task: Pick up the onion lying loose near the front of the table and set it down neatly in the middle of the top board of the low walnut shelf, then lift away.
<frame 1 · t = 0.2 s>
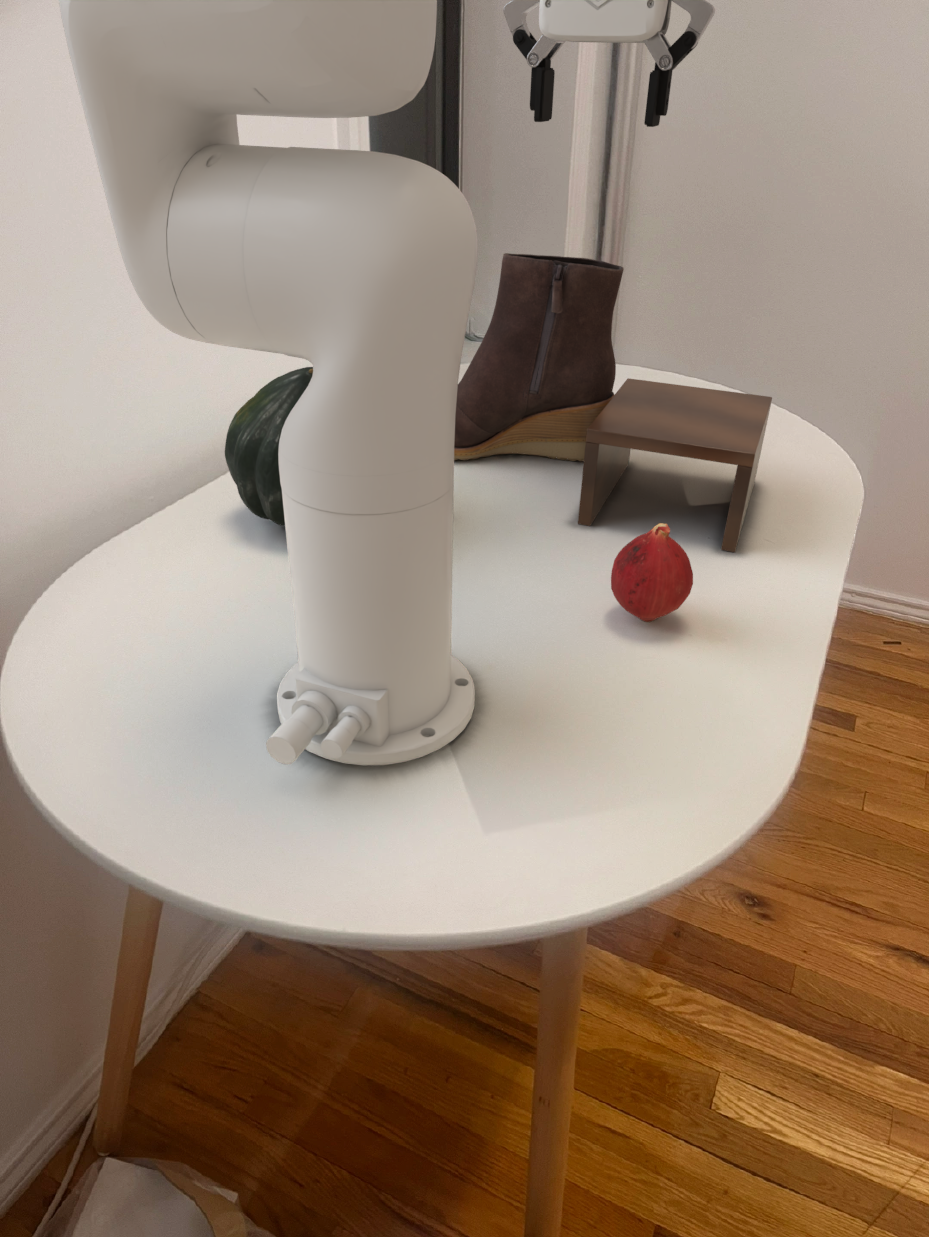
hand: (596, 123, 76), 31 cm above the table, tool pointing down, fingers open, 9 cm apart
boot: (494, 452, 95), on the table
walnut shelf: (670, 503, 84), on the table
squash: (320, 518, 80), on the table
onion: (644, 622, 66), on the table
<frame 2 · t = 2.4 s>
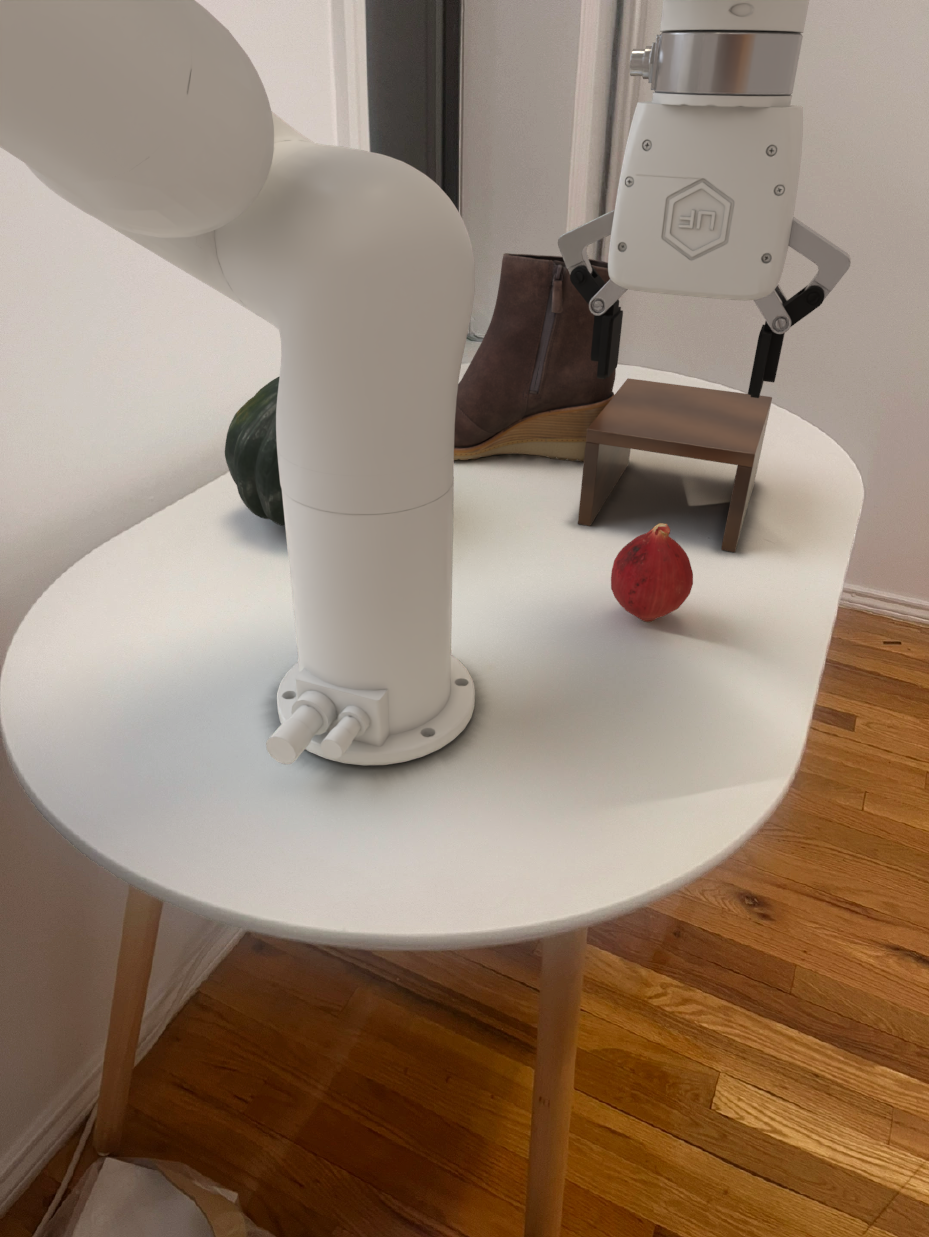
hand: (679, 382, 58), 18 cm above the table, tool pointing down, fingers open, 9 cm apart
nothing on the table moved.
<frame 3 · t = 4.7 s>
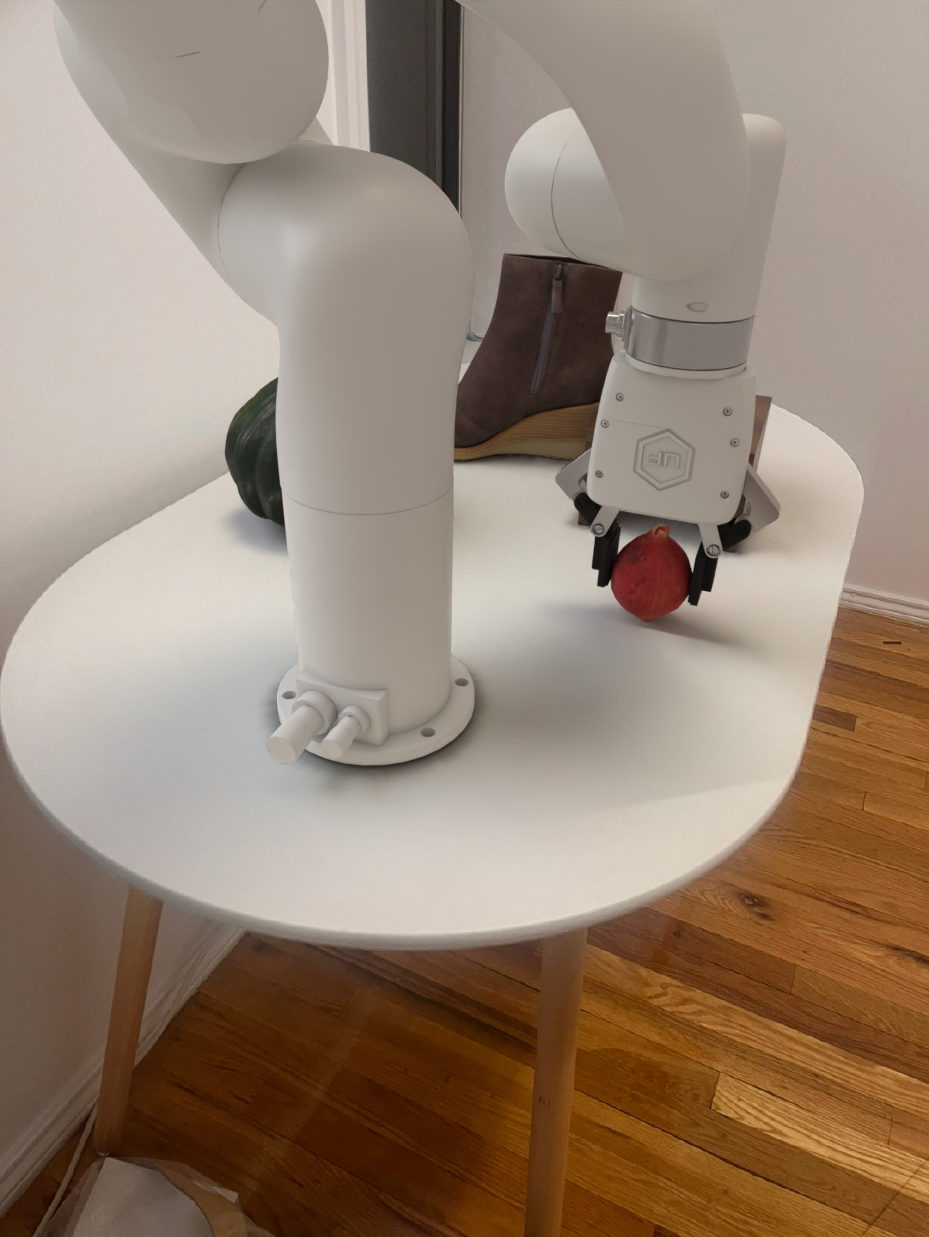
hand: (650, 585, 65), 3 cm above the table, tool pointing down, fingers closed on onion, 6 cm apart
onion: (644, 622, 66), on the table, touching gripper
everything else where it was.
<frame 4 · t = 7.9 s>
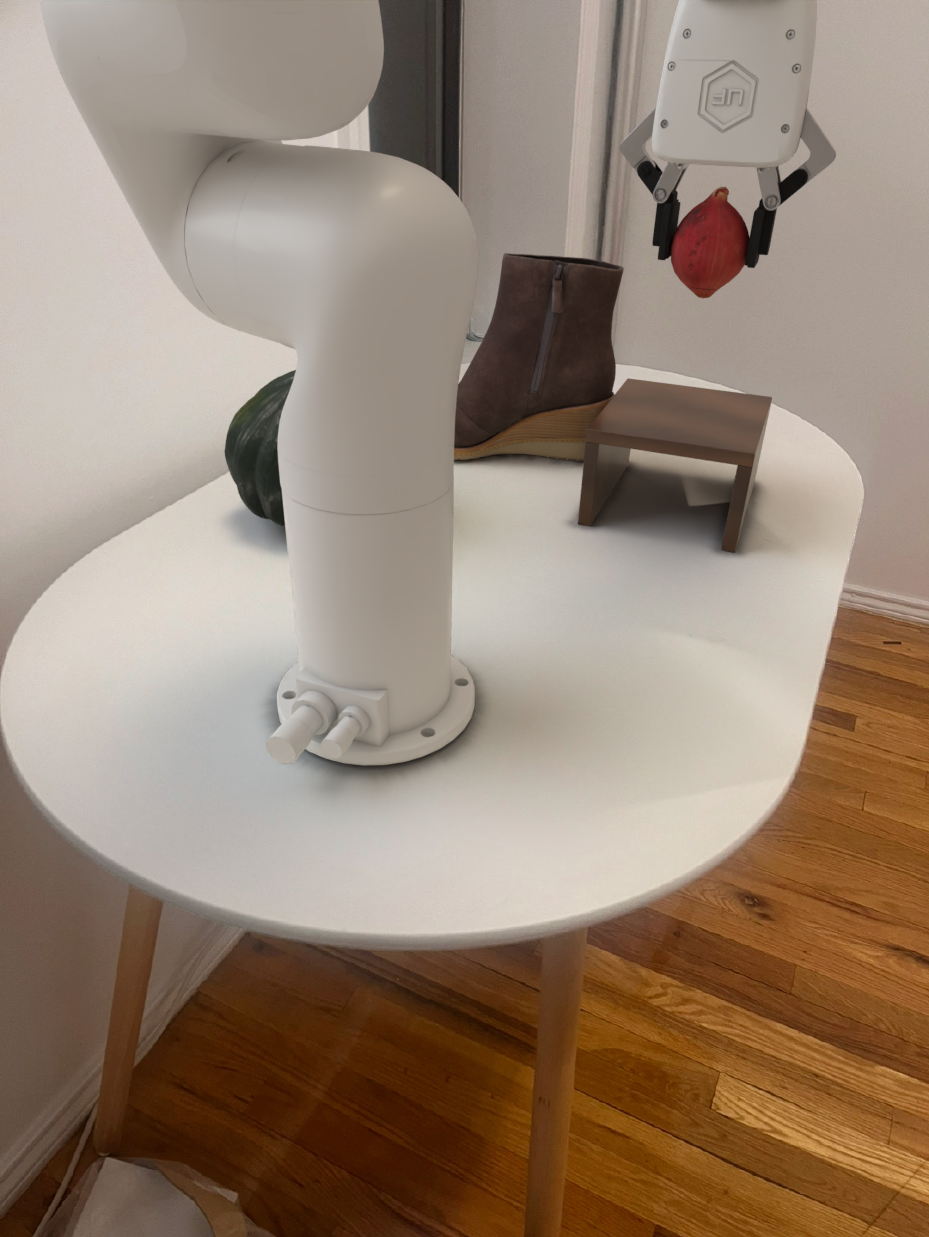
hand: (708, 258, 68), 23 cm above the table, tool pointing down, fingers closed on onion, 6 cm apart
onion: (701, 301, 70), point 20 cm above the table, touching gripper
everything else where it was.
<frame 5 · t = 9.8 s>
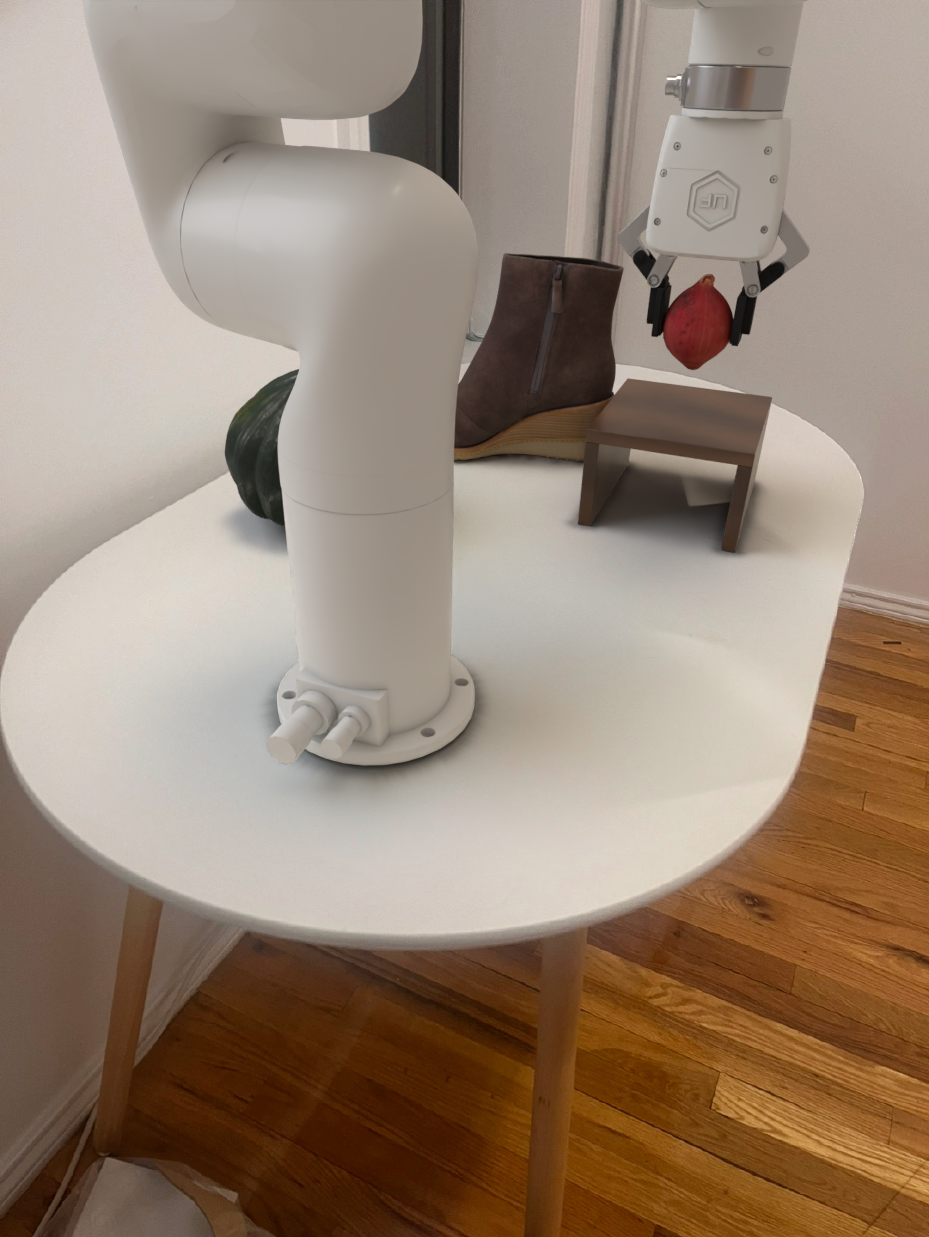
hand: (696, 335, 76), 16 cm above the table, tool pointing down, fingers closed on onion, 6 cm apart
onion: (690, 372, 78), point 13 cm above the table, touching gripper
everything else where it was.
when the fingers open (12 cm above the table, at t = 11.3 s): onion stays where it is, resting on walnut shelf.
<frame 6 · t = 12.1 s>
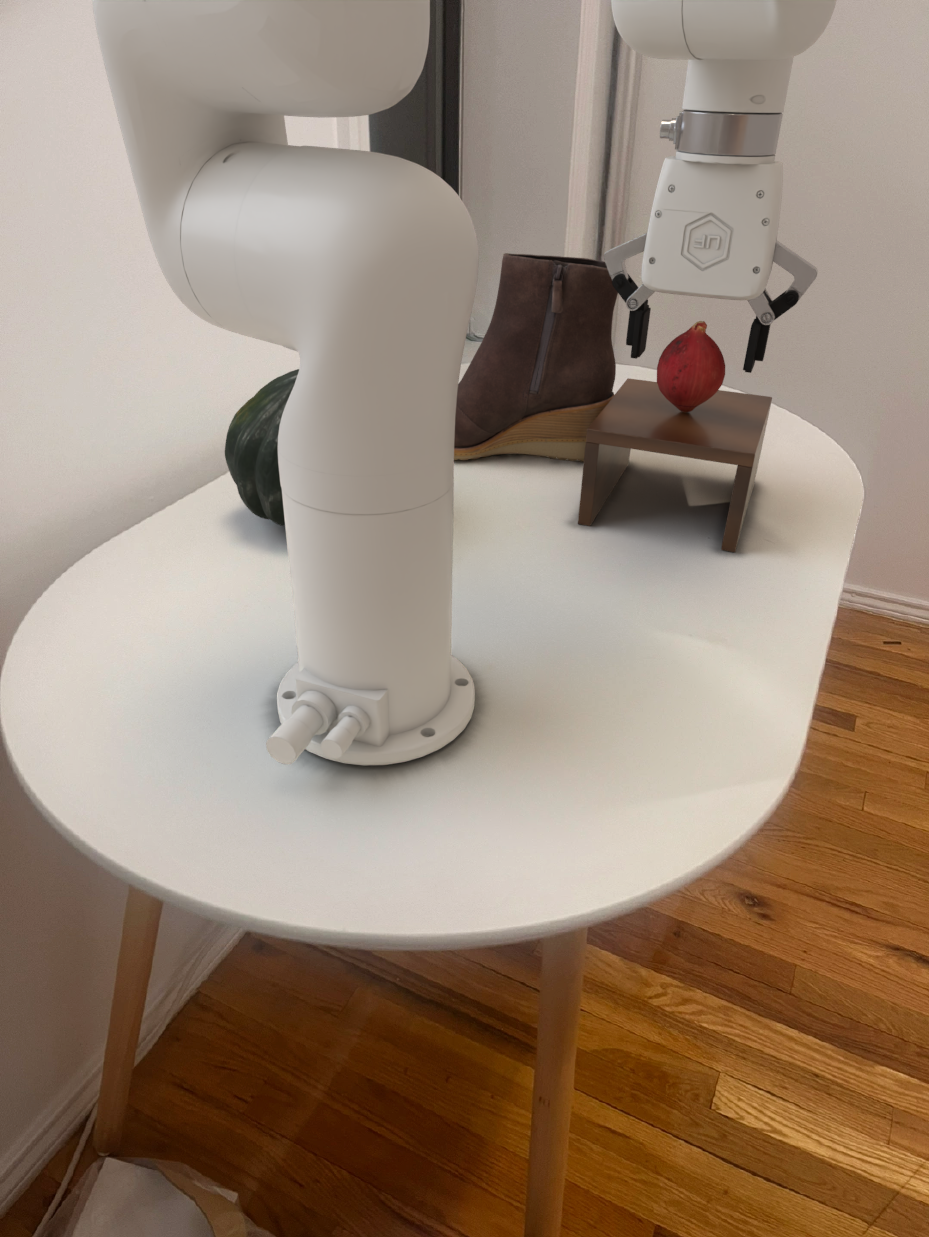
hand: (692, 361, 77), 14 cm above the table, tool pointing down, fingers open, 9 cm apart
onion: (683, 414, 80), point 9 cm above the table, touching walnut shelf
everything else where it was.
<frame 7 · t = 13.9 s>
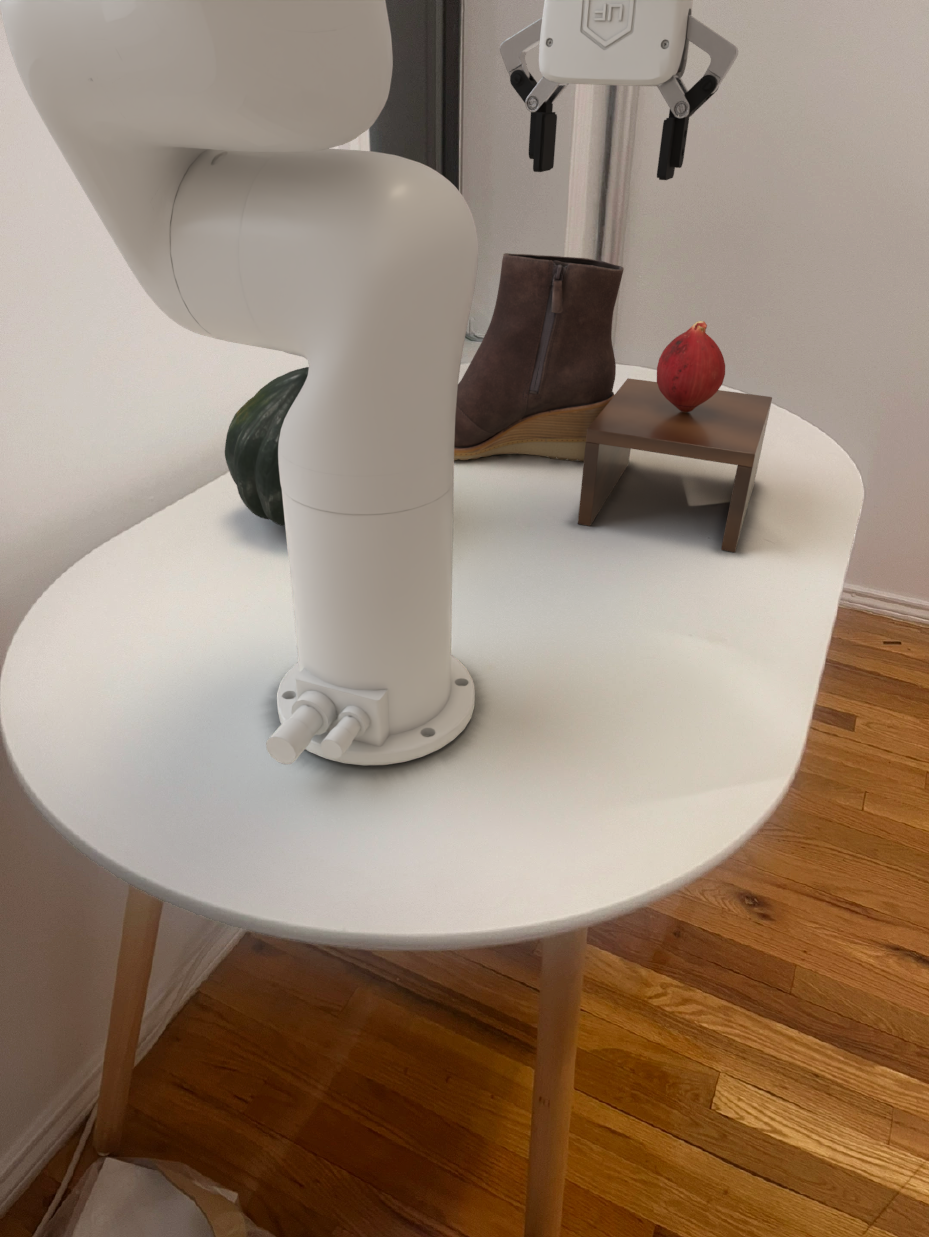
hand: (602, 174, 68), 28 cm above the table, tool pointing down, fingers open, 9 cm apart
nothing on the table moved.
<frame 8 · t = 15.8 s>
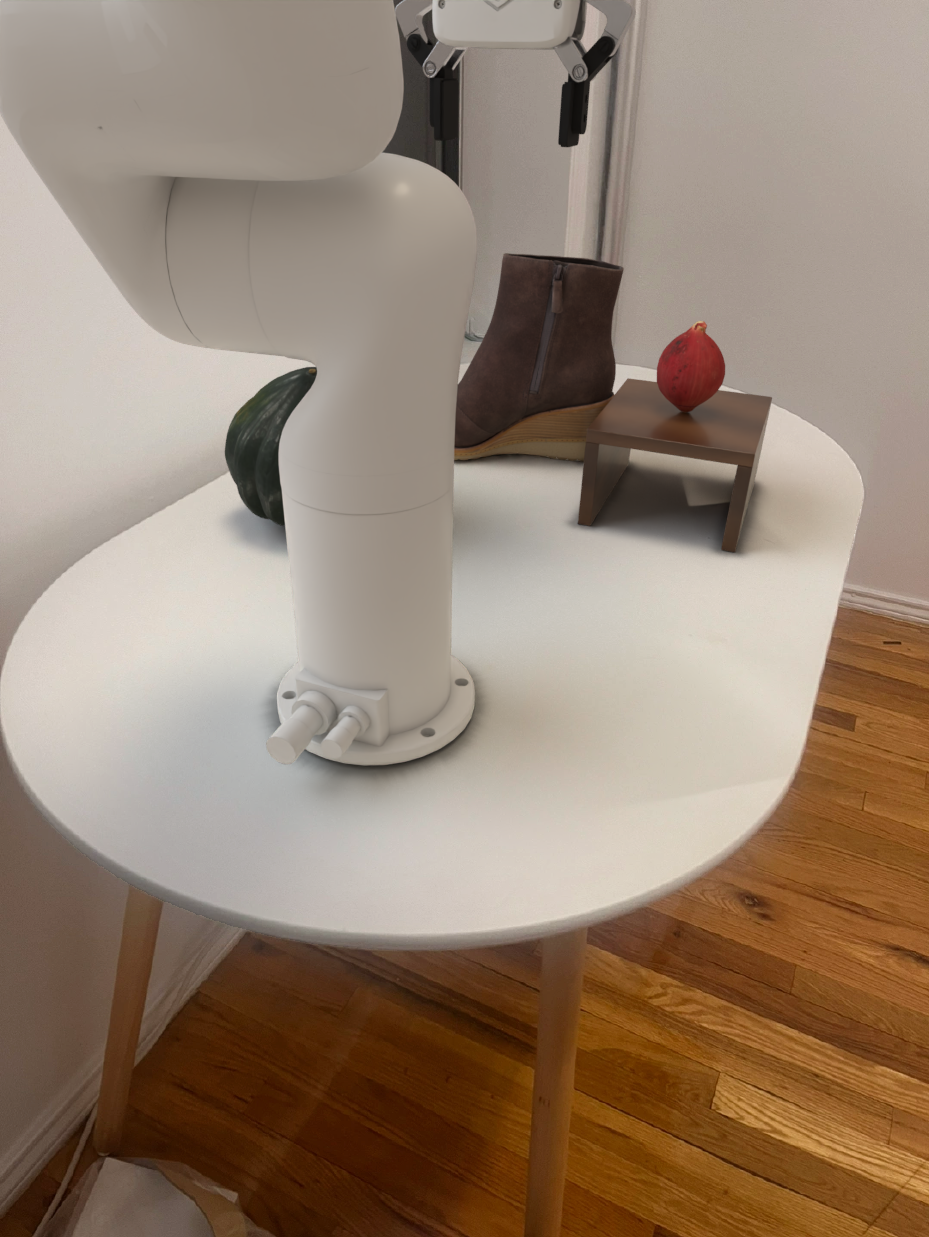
hand: (505, 142, 66), 30 cm above the table, tool pointing down, fingers open, 9 cm apart
nothing on the table moved.
at the end: onion inside the target area on the walnut shelf (0.1 cm from its centre), point 8.8 cm above the walnut shelf's base; the gripper is holding nothing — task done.
